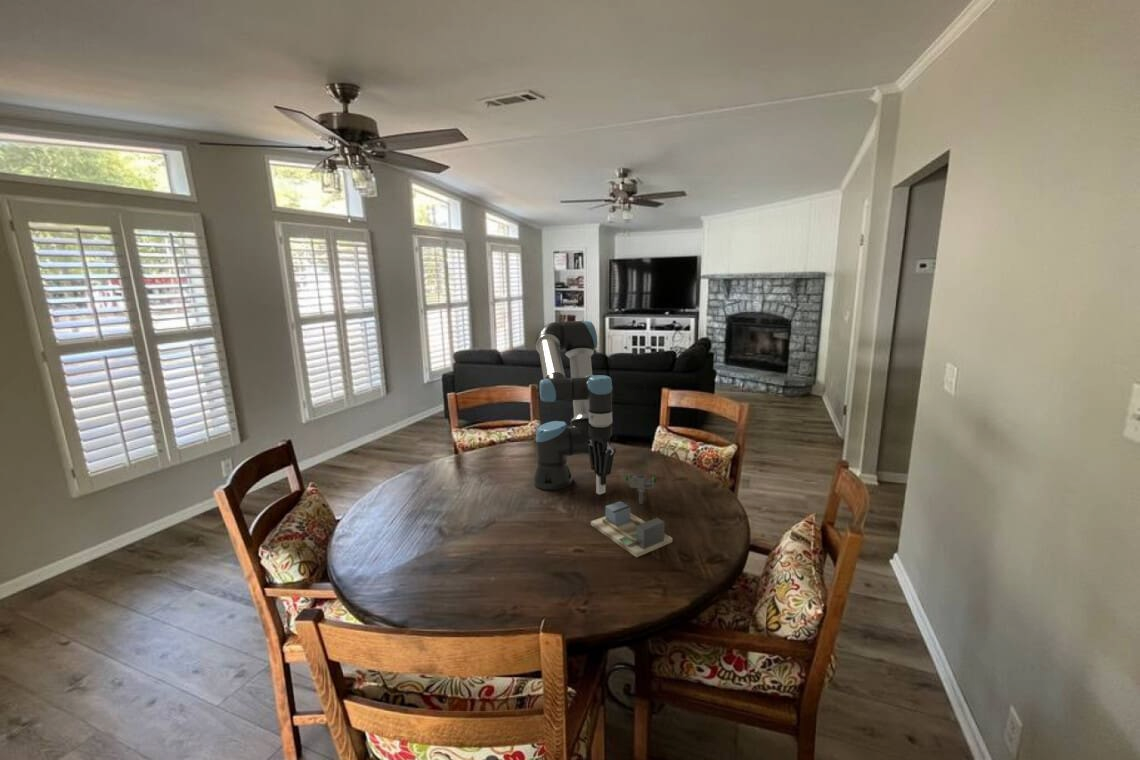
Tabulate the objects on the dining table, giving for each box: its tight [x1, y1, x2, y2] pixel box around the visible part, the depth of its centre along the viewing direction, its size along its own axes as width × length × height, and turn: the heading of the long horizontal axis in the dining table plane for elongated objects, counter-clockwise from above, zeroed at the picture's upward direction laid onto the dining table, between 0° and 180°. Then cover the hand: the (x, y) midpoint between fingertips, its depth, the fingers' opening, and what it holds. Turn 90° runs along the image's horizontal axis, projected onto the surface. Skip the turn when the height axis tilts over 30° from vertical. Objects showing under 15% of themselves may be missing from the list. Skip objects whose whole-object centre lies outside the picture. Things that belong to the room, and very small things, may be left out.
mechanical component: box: [625, 473, 657, 505], centre depth 163 cm, size 3×10×10 cm, turn 78°
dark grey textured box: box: [636, 517, 665, 549], centre depth 136 cm, size 3×8×6 cm, turn 123°
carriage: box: [604, 501, 632, 526], centre depth 149 cm, size 5×7×5 cm
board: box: [590, 512, 673, 558], centre depth 144 cm, size 22×14×2 cm, turn 33°
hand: (600, 492), depth 155 cm, fingers closed
